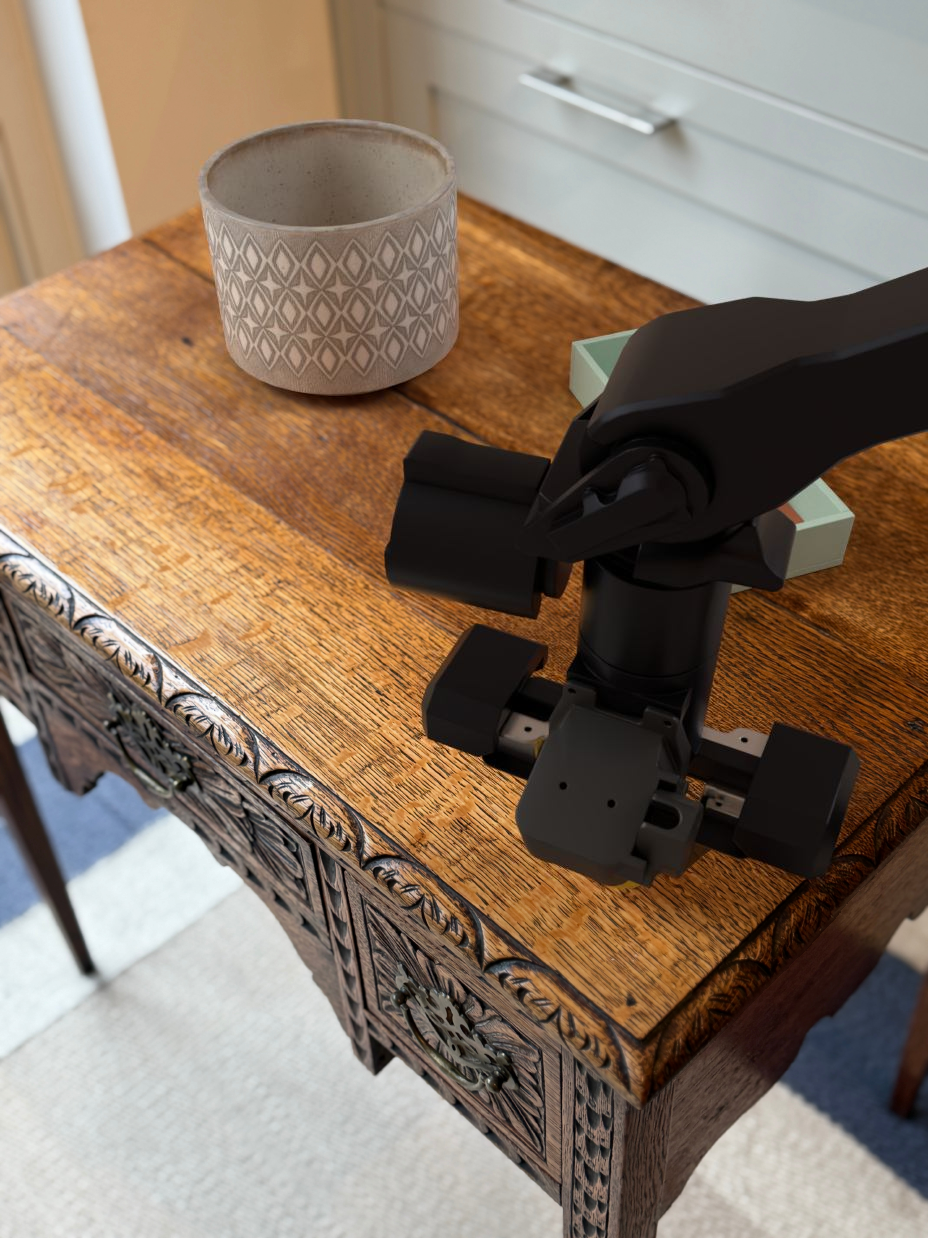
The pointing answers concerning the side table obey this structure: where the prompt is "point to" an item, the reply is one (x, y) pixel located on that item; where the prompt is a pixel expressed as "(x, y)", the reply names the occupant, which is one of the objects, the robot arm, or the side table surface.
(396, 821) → the side table surface
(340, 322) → the planter
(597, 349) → the compartment tray
